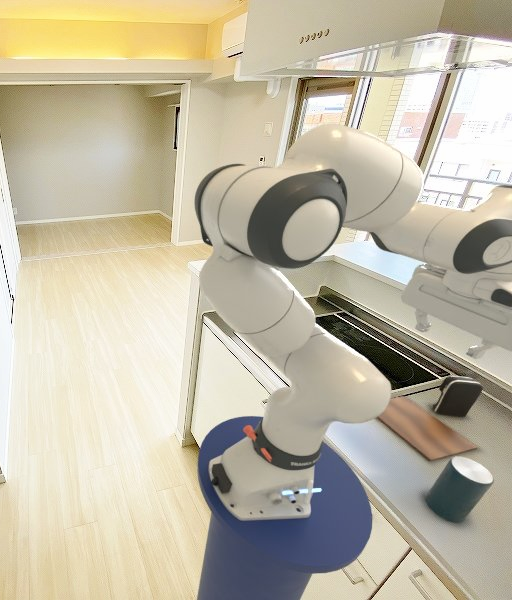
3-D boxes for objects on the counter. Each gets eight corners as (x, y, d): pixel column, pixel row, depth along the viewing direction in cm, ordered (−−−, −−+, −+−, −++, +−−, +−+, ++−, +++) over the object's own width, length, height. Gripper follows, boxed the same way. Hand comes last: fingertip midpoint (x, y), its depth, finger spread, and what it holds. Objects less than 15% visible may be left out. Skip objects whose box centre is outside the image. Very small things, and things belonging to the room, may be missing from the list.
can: (449, 526, 65) (478, 488, 59) (417, 496, 70) (442, 459, 65) (472, 518, 66) (503, 480, 60) (440, 490, 71) (466, 452, 66)
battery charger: (456, 407, 91) (476, 375, 86) (466, 418, 88) (487, 385, 83) (427, 404, 93) (444, 372, 87) (435, 414, 89) (454, 382, 84)
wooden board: (429, 461, 77) (430, 459, 77) (362, 406, 93) (363, 404, 93) (476, 448, 80) (477, 447, 79) (403, 397, 95) (404, 395, 95)
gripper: (406, 261, 68) (383, 319, 74) (540, 307, 50) (495, 377, 56) (431, 258, 69) (406, 315, 75) (571, 301, 51) (523, 371, 57)
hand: (445, 342), depth 65 cm, fingers open, 8 cm apart
